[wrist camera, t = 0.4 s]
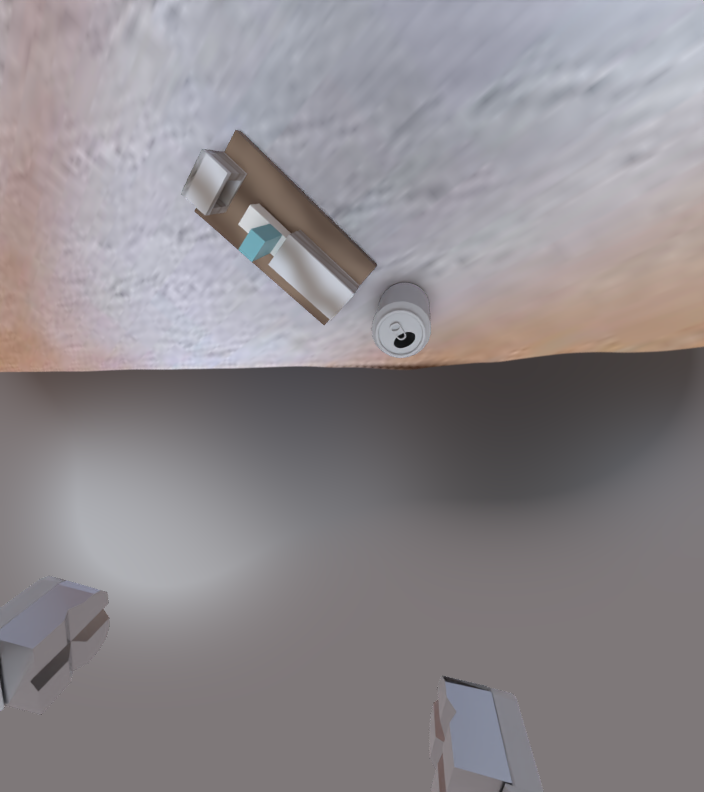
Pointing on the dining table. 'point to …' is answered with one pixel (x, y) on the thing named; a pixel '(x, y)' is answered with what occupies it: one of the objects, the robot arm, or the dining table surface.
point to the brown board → (309, 226)
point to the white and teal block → (261, 233)
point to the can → (402, 321)
